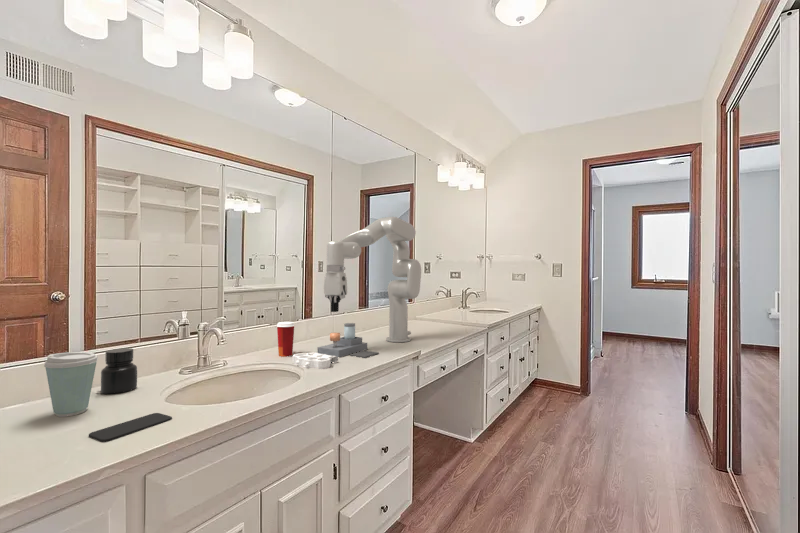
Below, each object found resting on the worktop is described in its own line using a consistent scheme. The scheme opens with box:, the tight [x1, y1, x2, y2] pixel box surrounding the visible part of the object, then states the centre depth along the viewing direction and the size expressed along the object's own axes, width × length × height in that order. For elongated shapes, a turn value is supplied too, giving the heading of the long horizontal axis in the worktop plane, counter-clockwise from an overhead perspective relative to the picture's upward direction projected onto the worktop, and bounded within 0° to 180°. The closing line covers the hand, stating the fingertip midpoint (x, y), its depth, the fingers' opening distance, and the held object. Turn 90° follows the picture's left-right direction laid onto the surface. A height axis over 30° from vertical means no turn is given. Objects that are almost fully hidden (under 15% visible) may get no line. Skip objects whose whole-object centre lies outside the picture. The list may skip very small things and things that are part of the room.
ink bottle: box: [100, 347, 138, 395], centre depth 117 cm, size 10×9×12 cm
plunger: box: [329, 332, 341, 348], centre depth 168 cm, size 4×4×7 cm
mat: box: [349, 350, 380, 359], centre depth 166 cm, size 10×8×1 cm
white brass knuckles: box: [292, 352, 339, 370], centre depth 150 cm, size 3×18×15 cm
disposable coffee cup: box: [43, 351, 99, 418], centre depth 98 cm, size 11×11×15 cm
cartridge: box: [343, 322, 356, 340], centre depth 176 cm, size 5×5×9 cm
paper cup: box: [276, 321, 296, 358], centre depth 165 cm, size 8×8×14 cm
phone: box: [88, 412, 173, 443], centre depth 89 cm, size 7×1×15 cm
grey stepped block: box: [317, 336, 368, 358], centre depth 173 cm, size 20×12×6 cm, turn 148°
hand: (334, 311), depth 168 cm, fingers closed
